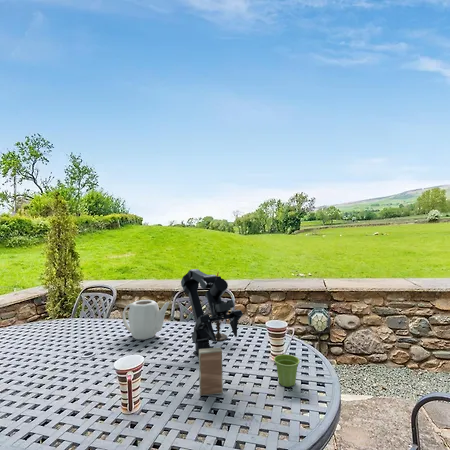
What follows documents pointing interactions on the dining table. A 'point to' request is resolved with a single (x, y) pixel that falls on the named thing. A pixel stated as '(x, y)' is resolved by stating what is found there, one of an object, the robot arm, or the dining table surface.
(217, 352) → the tile
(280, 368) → the plant pot
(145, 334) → the white lidless teapot
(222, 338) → the candlestick
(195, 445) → the dining table surface
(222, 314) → the robot arm
